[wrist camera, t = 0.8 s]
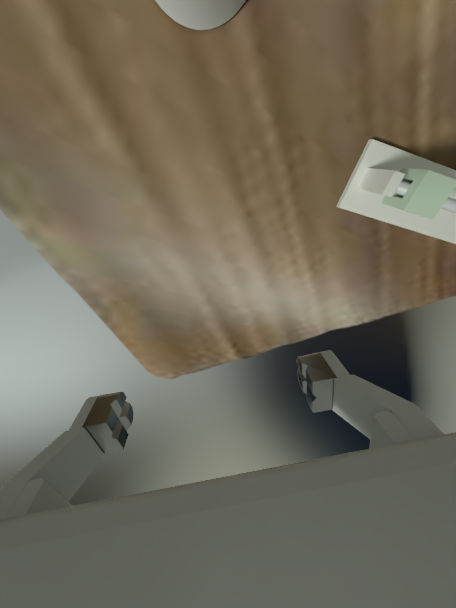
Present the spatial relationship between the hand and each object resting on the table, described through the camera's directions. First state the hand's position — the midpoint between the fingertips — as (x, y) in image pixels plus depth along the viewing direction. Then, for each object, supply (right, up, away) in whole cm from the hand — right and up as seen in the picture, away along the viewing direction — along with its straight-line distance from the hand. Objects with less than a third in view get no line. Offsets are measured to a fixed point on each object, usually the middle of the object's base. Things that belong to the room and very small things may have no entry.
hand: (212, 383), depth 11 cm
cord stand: (+36, +22, +30) cm, 51 cm away
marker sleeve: (+28, +21, +25) cm, 43 cm away
